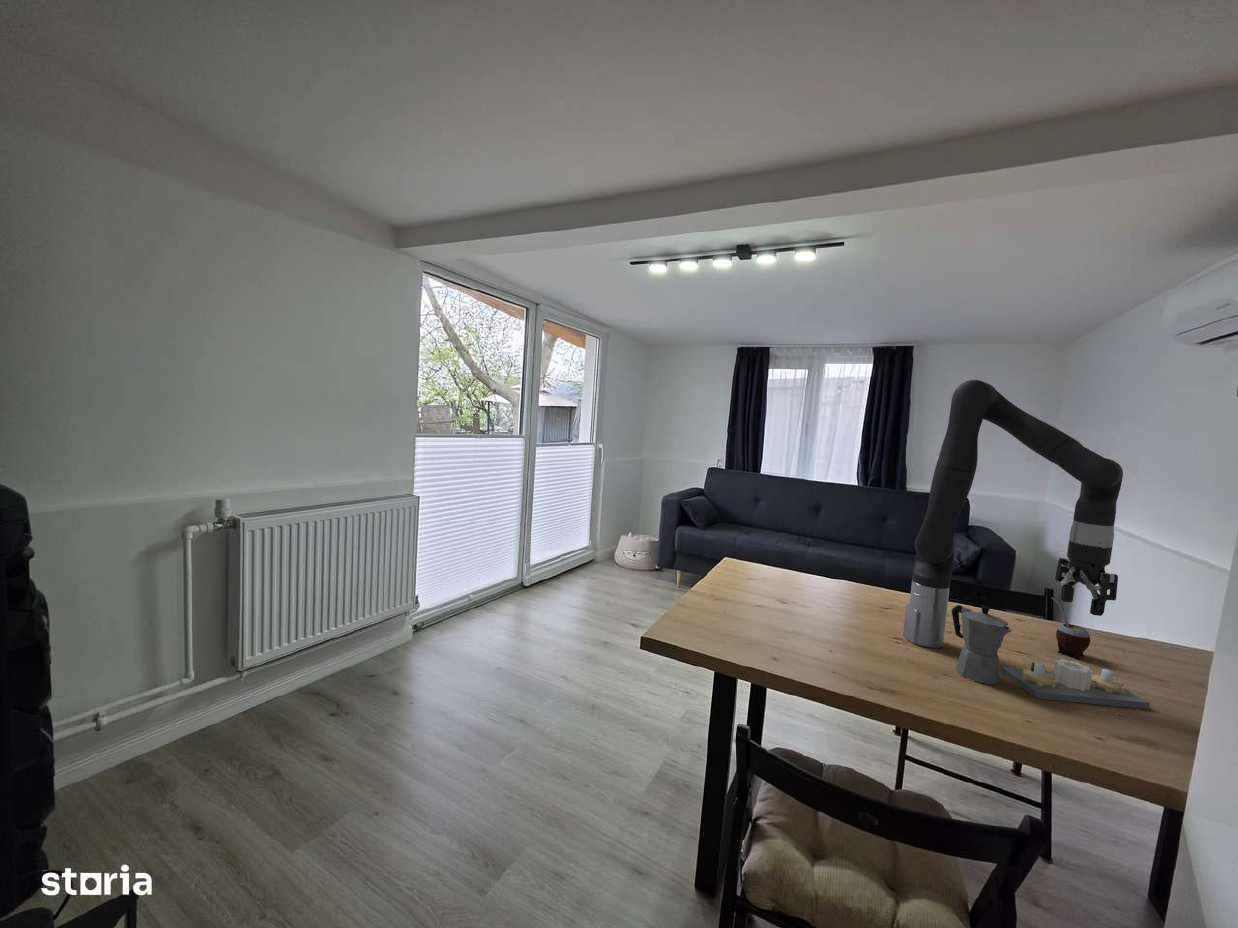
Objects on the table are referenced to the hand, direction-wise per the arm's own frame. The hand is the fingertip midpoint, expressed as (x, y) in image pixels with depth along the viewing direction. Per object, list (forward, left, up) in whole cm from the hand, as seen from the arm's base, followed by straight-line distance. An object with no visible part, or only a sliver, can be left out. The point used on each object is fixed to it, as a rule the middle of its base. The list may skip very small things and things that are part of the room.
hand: (1080, 607), depth 118 cm
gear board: (0, -1, -20) cm, 20 cm away
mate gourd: (+16, +22, -21) cm, 34 cm away
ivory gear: (0, 0, -19) cm, 19 cm away
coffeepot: (-20, +3, -21) cm, 29 cm away
